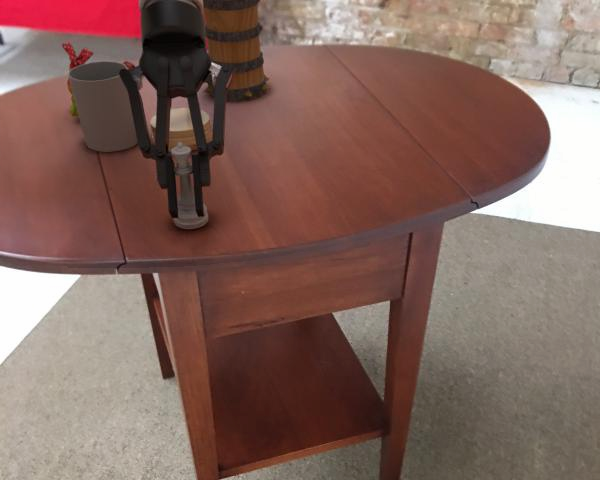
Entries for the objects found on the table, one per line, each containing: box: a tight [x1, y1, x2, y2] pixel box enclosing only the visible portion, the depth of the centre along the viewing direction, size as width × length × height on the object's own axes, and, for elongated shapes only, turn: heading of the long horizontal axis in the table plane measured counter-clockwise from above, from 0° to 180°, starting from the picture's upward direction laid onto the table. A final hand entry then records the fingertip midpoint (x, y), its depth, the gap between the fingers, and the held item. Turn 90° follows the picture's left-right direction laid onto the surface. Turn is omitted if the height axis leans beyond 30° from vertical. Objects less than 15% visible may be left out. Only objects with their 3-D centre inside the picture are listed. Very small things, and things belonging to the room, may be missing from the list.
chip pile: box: [149, 107, 213, 153], centre depth 97 cm, size 10×9×3 cm
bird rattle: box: [61, 42, 94, 118], centre depth 103 cm, size 6×11×9 cm
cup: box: [67, 60, 138, 153], centre depth 95 cm, size 8×8×10 cm
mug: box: [203, 0, 271, 103], centre depth 104 cm, size 13×17×20 cm
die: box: [121, 60, 136, 71], centre depth 116 cm, size 3×3×3 cm
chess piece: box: [170, 142, 209, 230], centre depth 76 cm, size 4×4×10 cm
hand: (186, 213), depth 75 cm, fingers closed on chess piece, 2 cm apart
